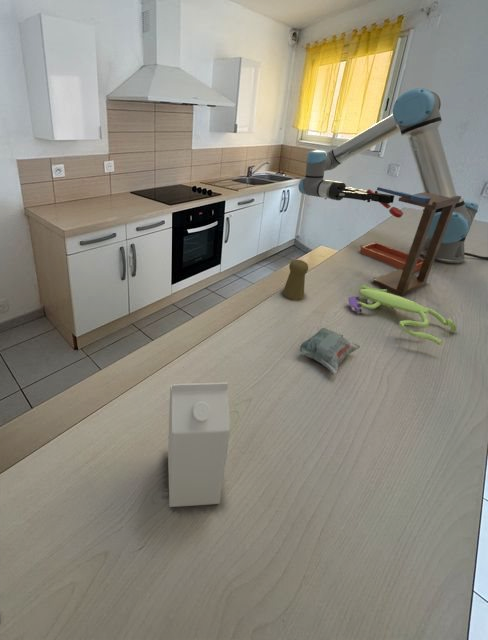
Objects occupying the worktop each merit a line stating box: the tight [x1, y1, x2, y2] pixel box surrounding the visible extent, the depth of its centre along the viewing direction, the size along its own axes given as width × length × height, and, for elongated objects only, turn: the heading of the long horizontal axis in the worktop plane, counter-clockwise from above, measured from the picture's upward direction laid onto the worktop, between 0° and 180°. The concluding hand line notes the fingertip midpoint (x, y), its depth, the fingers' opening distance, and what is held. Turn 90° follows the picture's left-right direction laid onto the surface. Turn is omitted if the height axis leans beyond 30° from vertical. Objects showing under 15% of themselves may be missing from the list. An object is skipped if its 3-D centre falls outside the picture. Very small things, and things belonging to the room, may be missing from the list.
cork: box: [282, 259, 309, 301], centre depth 95 cm, size 6×6×11 cm
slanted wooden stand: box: [372, 191, 462, 298], centre depth 100 cm, size 10×16×30 cm, turn 123°
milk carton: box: [167, 382, 231, 508], centre depth 44 cm, size 7×7×19 cm
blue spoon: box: [376, 186, 431, 203], centre depth 95 cm, size 15×4×1 cm, turn 25°
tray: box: [359, 242, 424, 273], centre depth 123 cm, size 19×10×3 cm, turn 33°
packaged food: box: [299, 327, 361, 376], centre depth 72 cm, size 9×12×5 cm
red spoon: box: [366, 189, 404, 219], centre depth 120 cm, size 15×4×1 cm, turn 34°
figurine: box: [347, 284, 457, 346], centre depth 87 cm, size 18×27×6 cm
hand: (391, 199), depth 117 cm, fingers closed on red spoon, 2 cm apart
